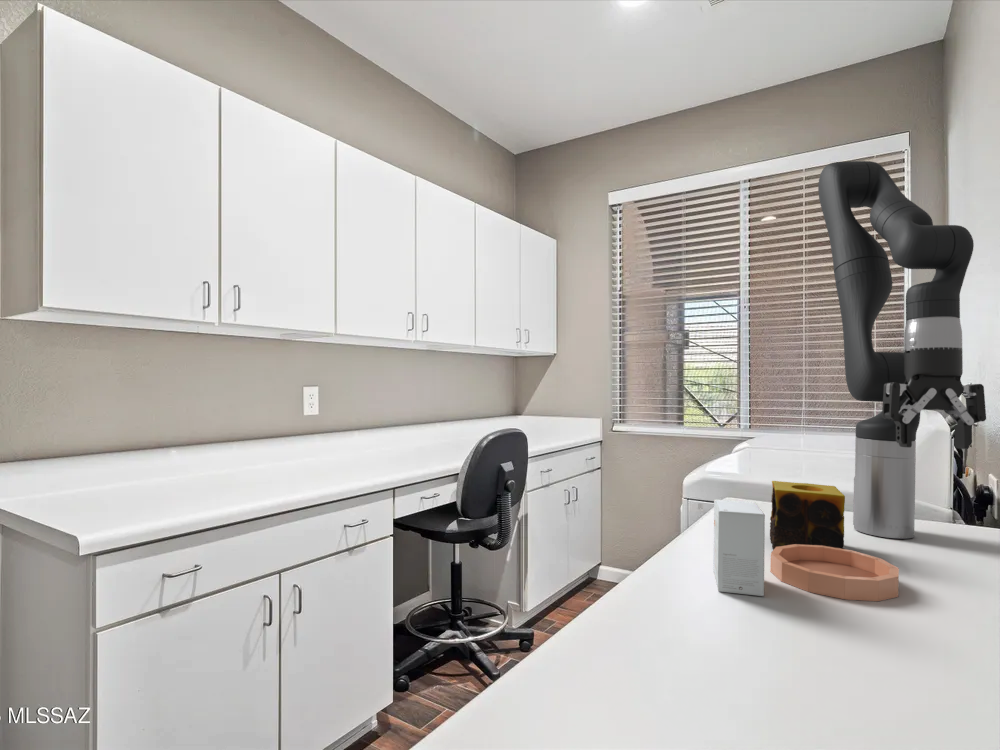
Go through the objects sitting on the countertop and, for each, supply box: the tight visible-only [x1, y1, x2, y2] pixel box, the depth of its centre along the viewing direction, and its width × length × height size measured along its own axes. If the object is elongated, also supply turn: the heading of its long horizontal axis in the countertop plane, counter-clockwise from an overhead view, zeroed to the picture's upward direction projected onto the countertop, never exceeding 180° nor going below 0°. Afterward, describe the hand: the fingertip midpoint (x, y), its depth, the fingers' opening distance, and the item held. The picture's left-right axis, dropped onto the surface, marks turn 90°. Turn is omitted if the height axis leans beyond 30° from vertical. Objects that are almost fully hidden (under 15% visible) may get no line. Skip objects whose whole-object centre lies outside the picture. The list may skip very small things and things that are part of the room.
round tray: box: [769, 544, 900, 602], centre depth 78 cm, size 15×15×3 cm
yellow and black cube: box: [769, 480, 846, 551], centre depth 94 cm, size 10×10×10 cm
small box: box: [712, 499, 766, 597], centre depth 76 cm, size 8×6×10 cm
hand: (933, 447), depth 91 cm, fingers open, 8 cm apart
